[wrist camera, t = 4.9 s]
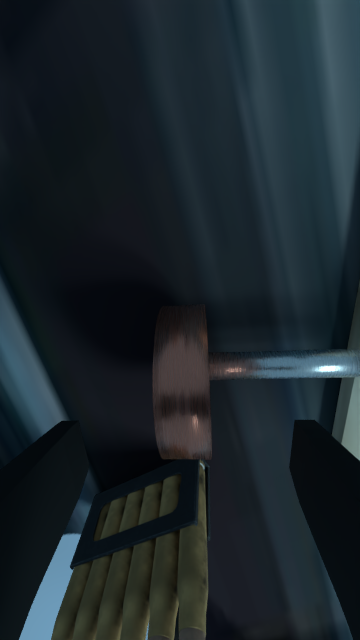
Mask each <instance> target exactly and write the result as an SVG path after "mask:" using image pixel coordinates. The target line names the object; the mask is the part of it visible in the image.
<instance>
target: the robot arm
mask: <svg viewBox="0 0 360 640" xmlns="http://www.w3.org/2000/svg"><path fill="white" fill-rule="evenodd" d="M88 468H89V462H88V457H87V453H86V449H85V445H84V441H83V437H82V433H81V429H80V425H79V421H61V422H59V423H58V424H57V425H55V426H54V427H53V428H52V429H50V430H49V431H48V432H47V433H45V434H44V435H43V436H42V437H40V438H39V439H38V440H37V441H36V442H34V443H33V444H32V445H31V446H29V447H28V448H27V449H26V450H25V451H23V452H22V453H21V454H20V455H18V456H17V457H16V458H15V459H13V460H12V461H11V462H10V463H8V464H7V465H6V466H5V467H3V468H2V469H1V470H0V640H19V637H20V635H21V632H22V630H23V627H24V624H25V621H26V619H27V616H28V613H29V611H30V608H31V605H32V603H33V601H34V598H35V596H36V594H37V591H38V589H39V586H40V584H41V582H42V580H43V577H44V575H45V573H46V571H47V569H48V566H49V564H50V562H51V560H52V557H53V555H54V553H55V551H56V549H57V546H58V544H59V542H60V540H61V537H62V535H63V533H64V531H65V529H66V526H67V524H68V522H69V520H70V517H71V515H72V513H73V511H74V508H75V506H76V504H77V501H78V499H79V496H80V493H81V490H82V487H83V484H84V481H85V478H86V475H87V472H88ZM289 468H290V472H291V475H292V479H293V482H294V486H295V489H296V493H297V496H298V499H299V502H300V505H301V508H302V510H303V513H304V515H305V518H306V520H307V523H308V525H309V528H310V530H311V533H312V535H313V538H314V540H315V543H316V545H317V548H318V550H319V552H320V555H321V557H322V560H323V562H324V565H325V567H326V570H327V572H328V575H329V577H330V580H331V582H332V584H333V587H334V589H335V592H336V594H337V597H338V599H339V602H340V604H341V607H342V610H343V612H344V615H345V618H346V620H347V623H348V626H349V629H350V631H351V634H352V637H353V640H360V461H359V460H358V459H357V458H356V457H355V456H354V455H353V454H352V453H351V452H349V451H348V450H347V449H346V448H345V447H344V446H343V445H342V444H341V443H339V442H338V441H337V440H336V439H335V438H334V437H333V436H332V435H331V434H330V433H329V432H327V431H326V430H325V429H324V428H323V427H322V426H321V425H320V424H319V423H318V422H316V421H315V420H295V422H294V431H293V440H292V448H291V457H290V466H289Z"/></svg>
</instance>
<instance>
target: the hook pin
mask: <svg viewBox="0 0 360 640" xmlns="http://www.w3.org/2000/svg"><path fill="white" fill-rule="evenodd" d="M344 377H360V349H325V350H289V351H252V352H216V353H208V341H207V324H206V311H205V304H204V305H180V306H162V307H161V308H160V311H159V313H158V318H157V323H156V329H155V338H154V352H153V410H154V423H155V433H156V440H157V445H158V450H159V453H160V456H161V458H162V459H211V456H212V445H211V407H210V382H209V380H239V379H292V378H344Z"/></svg>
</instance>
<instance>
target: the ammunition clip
mask: <svg viewBox="0 0 360 640" xmlns="http://www.w3.org/2000/svg"><path fill="white" fill-rule="evenodd" d="M209 540H210V466H209V465H208V463H207V462H206V461H205V460H204V459H178V460H175V461H173V462H171V463H168V464H166V465H164V466H162V467H159V468H157V469H155V470H152V471H150V472H148V473H145V474H143V475H141V476H139V477H136V478H134V479H132V480H129V481H127V482H125V483H122V484H120V485H118V486H116V487H113V488H111V489H109V490H106V491H104V492H102V493H99V494H97V495H96V496H95V497H94V500H93V503H92V506H91V509H90V511H89V514H88V517H87V520H86V523H85V525H84V528H83V531H82V534H81V537H80V540H79V543H78V545H77V548H76V551H75V554H74V556H73V559H72V562H71V565H70V568H71V569H72V570H73V569H74V570H73V573H72V576H71V579H70V581H69V585H68V587H67V590H66V593H65V596H64V598H63V601H62V604H61V607H60V610H59V613H58V615H57V618H56V621H55V625H54V629H53V634H52V638H51V640H145V638H146V631H147V626H148V622H149V630H148V640H174V632H175V621H176V615H177V610H178V605H179V640H205V636H206V607H207V598H208V568H207V541H209Z"/></svg>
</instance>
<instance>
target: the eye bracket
mask: <svg viewBox="0 0 360 640" xmlns="http://www.w3.org/2000/svg"><path fill="white" fill-rule="evenodd" d="M347 349H360V281H359V286H358V292H357V297H356V303H355V309H354V314H353V320H352V325H351V331H350V336H349V342H348V348H347ZM332 436H333V437H334V438H335V439H336V440H337V441H338V442H339V443H341V444H342V445H343V446H344V447H345V448H346V449H347V450H348V451H349V452H351V453H352V454H353V455H354V456H355V457H356V458H357V459H358V460H359V461H360V377H344V378H342V381H341V386H340V392H339V398H338V403H337V409H336V414H335V420H334V425H333V431H332Z"/></svg>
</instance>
